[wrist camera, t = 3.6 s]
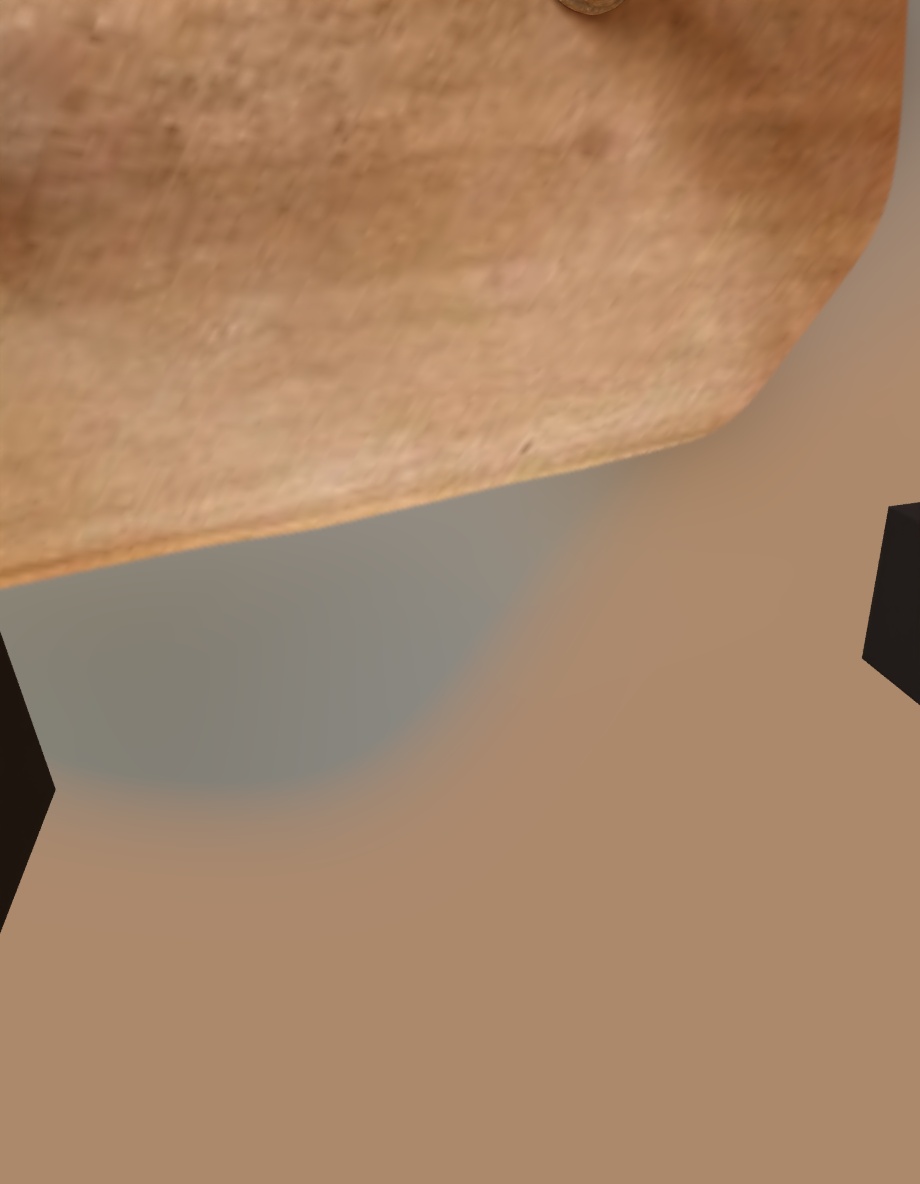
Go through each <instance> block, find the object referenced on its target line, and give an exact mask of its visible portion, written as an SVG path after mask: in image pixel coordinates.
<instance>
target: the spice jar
mask: <svg viewBox="0 0 920 1184" xmlns="http://www.w3.org/2000/svg"><path fill="white" fill-rule="evenodd" d="M559 1H561V2H562V3H563V4H564V5H565V6H567V7H569V8H571V9H572V10H574V11H578V12H581V13H585V14H588V15H598V14H601V13H605V12H607V11H610V10H612V9H614V8H616V7H617V6H618V5H619V4H621V3H622V2H623V1H624V0H559Z"/></svg>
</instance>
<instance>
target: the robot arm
mask: <svg viewBox="0 0 920 1184" xmlns="http://www.w3.org/2000/svg"><path fill="white" fill-rule="evenodd" d="M862 659H863V660H865V661H866V662H867V663H868V664H870V665H871V666H872V667H873V668H874V669H876V670H877V671H878V672H880V673H881V674H882V675H883V676H884V677H886V678H887V679H888V680H889V681H891V682H892V683H893V684H895V685H896V686H897V687H898V688H899V689H901V690H902V691H903V692H904V693H905V694H907V695H908V696H909V697H910V698H912V699H913V700H914V701H915V702H917V703H918V704H919V705H920V502H918V503H911V504H903V505H897V506H889V507H888V513H887V519H886V525H885V530H884V536H883V542H882V547H881V553H880V559H879V564H878V570H877V576H876V581H875V587H874V593H873V598H872V604H871V610H870V616H869V621H868V627H867V632H866V638H865V644H864V649H863V655H862ZM54 793H55V786H54V783H53V781H52V778H51V775H50V772H49V769H48V767H47V763H46V761H45V758H44V755H43V752H42V749H41V746H40V744H39V741H38V738H37V735H36V732H35V729H34V727H33V724H32V721H31V718H30V715H29V712H28V709H27V707H26V704H25V701H24V698H23V695H22V692H21V689H20V687H19V684H18V681H17V678H16V675H15V672H14V670H13V667H12V664H11V661H10V658H9V656H8V653H7V650H6V647H5V644H4V641H3V638H2V635H1V633H0V932H1V930H2V927H3V925H4V922H5V919H6V917H7V914H8V912H9V909H10V906H11V904H12V901H13V899H14V896H15V893H16V891H17V888H18V886H19V883H20V880H21V878H22V875H23V873H24V870H25V867H26V865H27V862H28V860H29V857H30V855H31V852H32V849H33V847H34V844H35V842H36V839H37V837H38V834H39V831H40V829H41V826H42V824H43V821H44V818H45V816H46V813H47V811H48V808H49V805H50V803H51V800H52V798H53V795H54Z"/></svg>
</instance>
